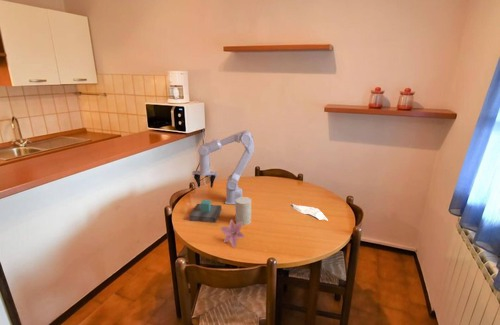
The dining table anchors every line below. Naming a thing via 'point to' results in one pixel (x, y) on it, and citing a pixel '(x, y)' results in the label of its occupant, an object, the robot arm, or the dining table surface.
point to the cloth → (310, 211)
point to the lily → (232, 232)
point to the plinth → (205, 214)
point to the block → (205, 205)
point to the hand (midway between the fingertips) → (205, 186)
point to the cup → (243, 210)
